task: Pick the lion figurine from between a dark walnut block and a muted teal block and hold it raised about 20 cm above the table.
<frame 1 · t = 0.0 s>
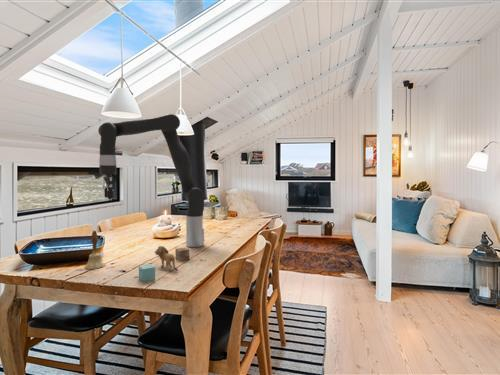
hand: (108, 198, 152), 29 cm above the table, tool pointing down, fingers open, 8 cm apart
lion figurine: (166, 268, 138), on the table
hand bell: (95, 266, 139), on the table
walnut block: (182, 259, 151), on the table
teal block: (147, 278, 124), on the table
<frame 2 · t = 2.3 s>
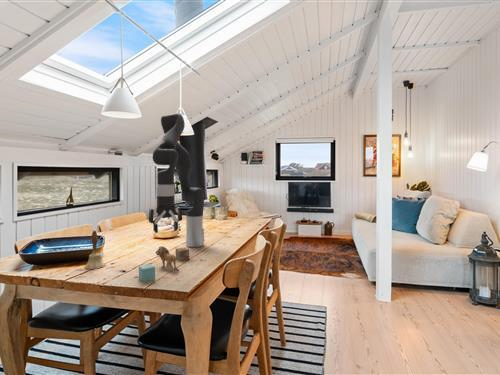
hand: (165, 231, 137), 16 cm above the table, tool pointing down, fingers open, 8 cm apart
nothing on the table moved.
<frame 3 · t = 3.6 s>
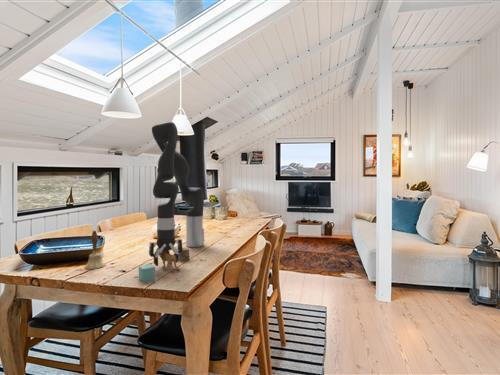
hand: (166, 263, 138), 2 cm above the table, tool pointing down, fingers open, 8 cm apart
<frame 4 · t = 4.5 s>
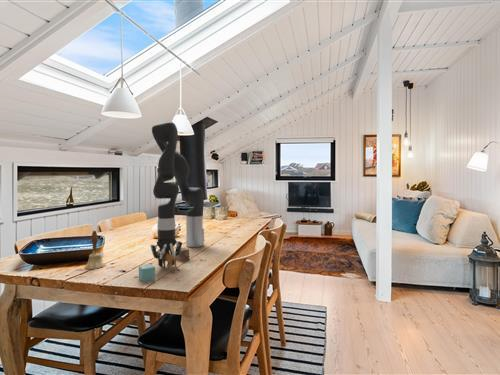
hand: (166, 265, 138), 1 cm above the table, tool pointing down, fingers closed on lion figurine, 4 cm apart
lion figurine: (168, 269, 137), on the table, touching gripper
everything else where it was.
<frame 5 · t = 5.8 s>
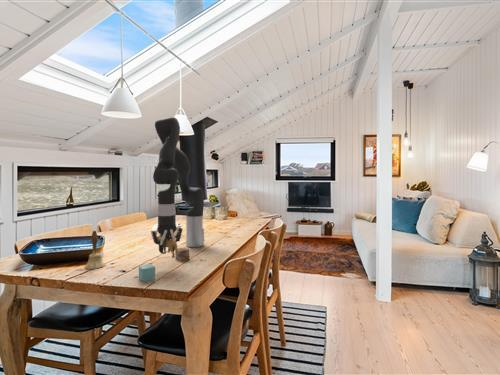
hand: (167, 251, 138), 7 cm above the table, tool pointing down, fingers closed on lion figurine, 4 cm apart
lion figurine: (168, 255, 137), point 6 cm above the table, touching gripper
everything else where it was.
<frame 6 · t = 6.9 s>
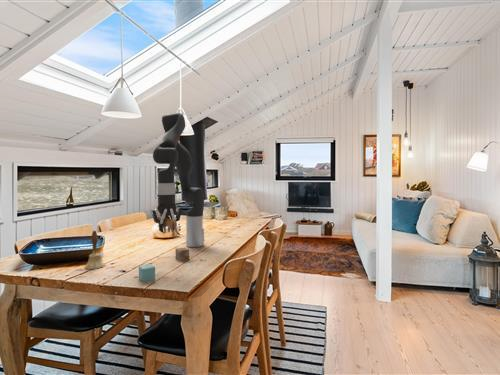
hand: (167, 231, 139), 16 cm above the table, tool pointing down, fingers closed on lion figurine, 4 cm apart
lion figurine: (168, 234, 138), point 15 cm above the table, touching gripper
everything else where it was.
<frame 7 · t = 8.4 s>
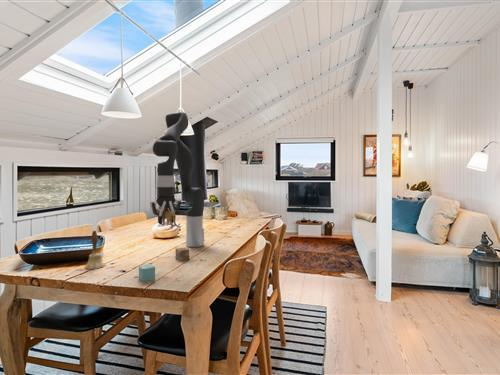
hand: (166, 223, 140), 19 cm above the table, tool pointing down, fingers closed on lion figurine, 4 cm apart
lion figurine: (167, 226, 139), point 18 cm above the table, touching gripper
everything else where it was.
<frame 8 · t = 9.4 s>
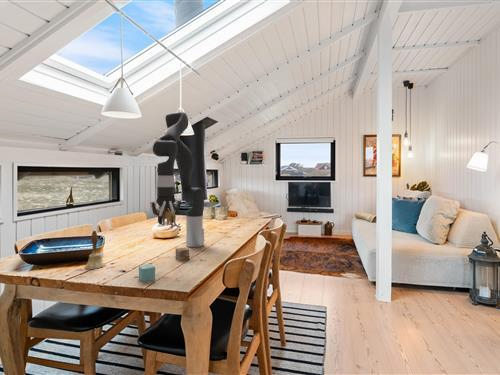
hand: (166, 223, 140), 19 cm above the table, tool pointing down, fingers closed on lion figurine, 4 cm apart
lion figurine: (167, 226, 139), point 18 cm above the table, touching gripper
everything else where it was.
at the end: lion figurine point 18.1 cm above the table; walnut block moved 0.1 cm from its start; teal block moved 0.1 cm from its start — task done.
